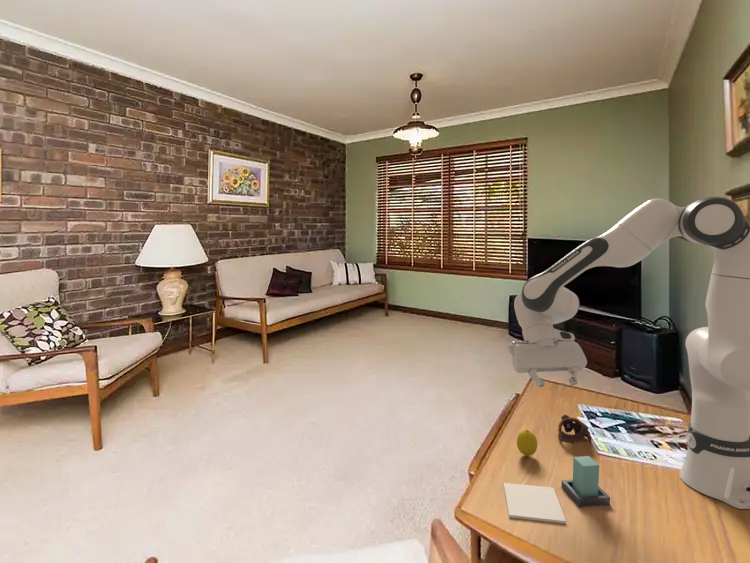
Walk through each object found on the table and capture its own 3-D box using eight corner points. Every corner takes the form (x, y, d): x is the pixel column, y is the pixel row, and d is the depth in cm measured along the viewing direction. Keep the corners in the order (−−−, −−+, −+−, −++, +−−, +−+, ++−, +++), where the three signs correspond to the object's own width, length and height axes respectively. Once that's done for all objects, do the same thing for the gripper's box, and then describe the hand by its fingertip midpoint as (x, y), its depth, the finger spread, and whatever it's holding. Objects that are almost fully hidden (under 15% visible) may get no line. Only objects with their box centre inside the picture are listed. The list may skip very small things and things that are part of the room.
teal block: (587, 489, 100) (588, 455, 99) (597, 500, 96) (599, 465, 95) (572, 491, 99) (573, 457, 98) (582, 501, 95) (583, 466, 94)
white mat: (553, 489, 100) (553, 487, 100) (565, 523, 88) (565, 521, 88) (503, 484, 102) (503, 482, 102) (509, 517, 91) (509, 514, 91)
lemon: (538, 462, 112) (539, 435, 111) (518, 460, 113) (518, 433, 112) (535, 451, 118) (535, 426, 117) (515, 450, 119) (515, 424, 118)
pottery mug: (601, 448, 119) (594, 429, 116) (572, 462, 120) (564, 444, 117) (577, 420, 131) (570, 403, 127) (550, 433, 131) (543, 416, 128)
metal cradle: (589, 484, 102) (590, 478, 101) (609, 504, 94) (610, 497, 94) (561, 487, 101) (561, 480, 101) (579, 507, 93) (579, 500, 93)
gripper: (510, 336, 113) (525, 381, 104) (578, 333, 115) (598, 378, 106) (503, 346, 118) (517, 391, 109) (569, 344, 120) (587, 388, 111)
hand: (557, 385), depth 108 cm, fingers open, 8 cm apart
